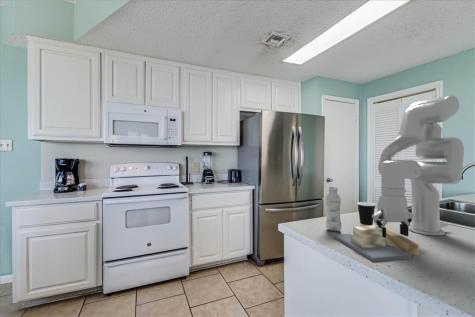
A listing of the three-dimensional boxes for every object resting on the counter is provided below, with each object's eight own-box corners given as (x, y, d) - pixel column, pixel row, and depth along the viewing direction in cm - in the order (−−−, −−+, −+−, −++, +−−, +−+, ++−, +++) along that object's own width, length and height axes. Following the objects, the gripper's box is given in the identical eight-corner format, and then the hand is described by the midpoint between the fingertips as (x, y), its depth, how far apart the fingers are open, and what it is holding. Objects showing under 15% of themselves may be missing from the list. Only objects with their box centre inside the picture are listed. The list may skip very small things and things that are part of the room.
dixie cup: (378, 228, 103) (378, 205, 103) (360, 228, 105) (360, 205, 105) (371, 223, 111) (371, 202, 111) (354, 223, 113) (354, 201, 113)
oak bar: (384, 235, 95) (384, 226, 95) (418, 256, 75) (418, 244, 75) (375, 235, 96) (375, 226, 96) (406, 255, 76) (406, 244, 76)
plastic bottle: (343, 233, 97) (342, 188, 97) (327, 232, 99) (326, 188, 99) (339, 228, 104) (339, 186, 104) (324, 228, 105) (324, 186, 105)
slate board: (363, 235, 95) (363, 232, 95) (410, 258, 73) (410, 254, 73) (333, 237, 93) (333, 234, 93) (372, 261, 71) (372, 257, 71)
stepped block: (371, 239, 87) (371, 224, 87) (385, 246, 80) (385, 229, 80) (350, 240, 86) (350, 225, 86) (363, 248, 79) (363, 231, 79)
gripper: (403, 190, 90) (404, 231, 90) (365, 191, 88) (366, 233, 88) (421, 193, 83) (421, 238, 83) (380, 194, 80) (381, 240, 80)
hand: (393, 235), depth 85 cm, fingers open, 9 cm apart
